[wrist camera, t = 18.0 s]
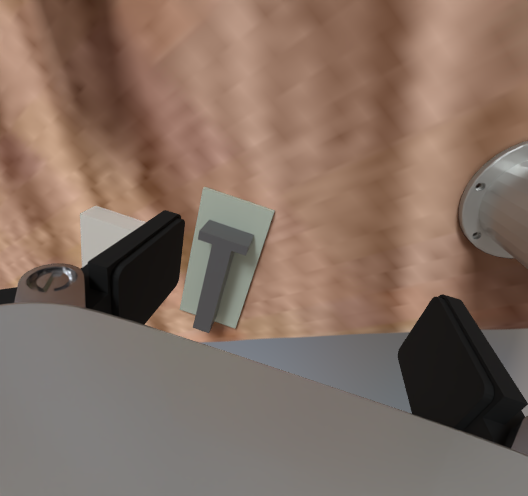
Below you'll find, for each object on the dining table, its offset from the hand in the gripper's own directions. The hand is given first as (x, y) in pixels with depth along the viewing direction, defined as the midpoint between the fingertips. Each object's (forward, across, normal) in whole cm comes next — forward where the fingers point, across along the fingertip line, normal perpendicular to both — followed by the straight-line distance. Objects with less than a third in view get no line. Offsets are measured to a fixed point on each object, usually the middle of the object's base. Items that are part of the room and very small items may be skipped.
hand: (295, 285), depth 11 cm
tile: (+22, +17, +18) cm, 33 cm away
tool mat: (+24, +8, +17) cm, 30 cm away
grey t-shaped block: (+24, +8, +19) cm, 31 cm away
